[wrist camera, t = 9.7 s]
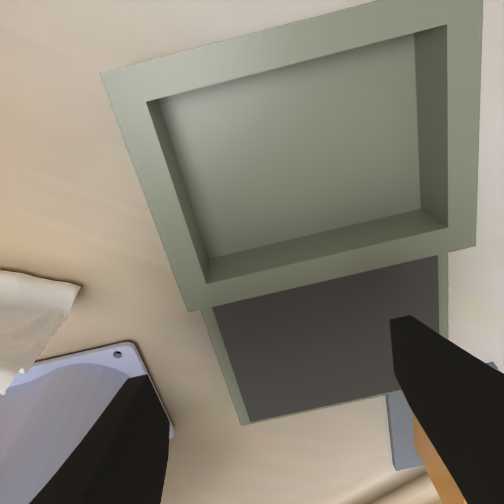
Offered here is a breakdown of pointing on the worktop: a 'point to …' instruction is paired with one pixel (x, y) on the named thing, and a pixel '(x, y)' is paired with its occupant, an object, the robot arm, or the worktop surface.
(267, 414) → the grey-green tray
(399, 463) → the mat
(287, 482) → the worktop surface
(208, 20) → the worktop surface
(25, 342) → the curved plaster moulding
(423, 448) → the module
